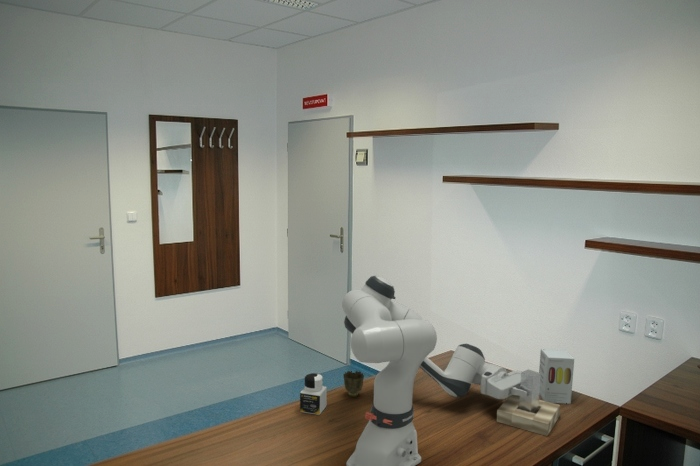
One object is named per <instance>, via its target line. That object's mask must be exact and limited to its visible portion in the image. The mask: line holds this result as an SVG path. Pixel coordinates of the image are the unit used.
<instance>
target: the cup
mask: <svg viewBox="0 0 700 466" xmlns="http://www.w3.org/2000/svg"><path fill="white" fill-rule="evenodd" d="M364 377H365V374H364V373H363V372H361V371H360V370H359V371H358V370H355V372H353V371H352V370H347V371H345V372H344V373H343V383H344V384H343V385H344V388H345V390H346V391H347V392H348V393H347V394H348V396H349V397H351V398H352V397H353V398H355V397H357V396H358V395H359V394H360V393H359V392H360V391H361V390H362V388H363V385H364Z"/></svg>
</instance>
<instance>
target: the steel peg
mask: <svg viewBox="0 0 700 466" xmlns="http://www.w3.org/2000/svg"><path fill="white" fill-rule="evenodd" d="M540 375H541V373H539V371H538V372H537V371H535V370H532V369H529V368H528V369H526V370H523V371H522V372H521V383H520V390H526V391H528V392H529V393H528V396H527V397H523V396H520V399H519V409H520V410H524V411H527V412H531V413H535V414H537V412H538V405H539V400H540V395H539V390H540Z"/></svg>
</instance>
